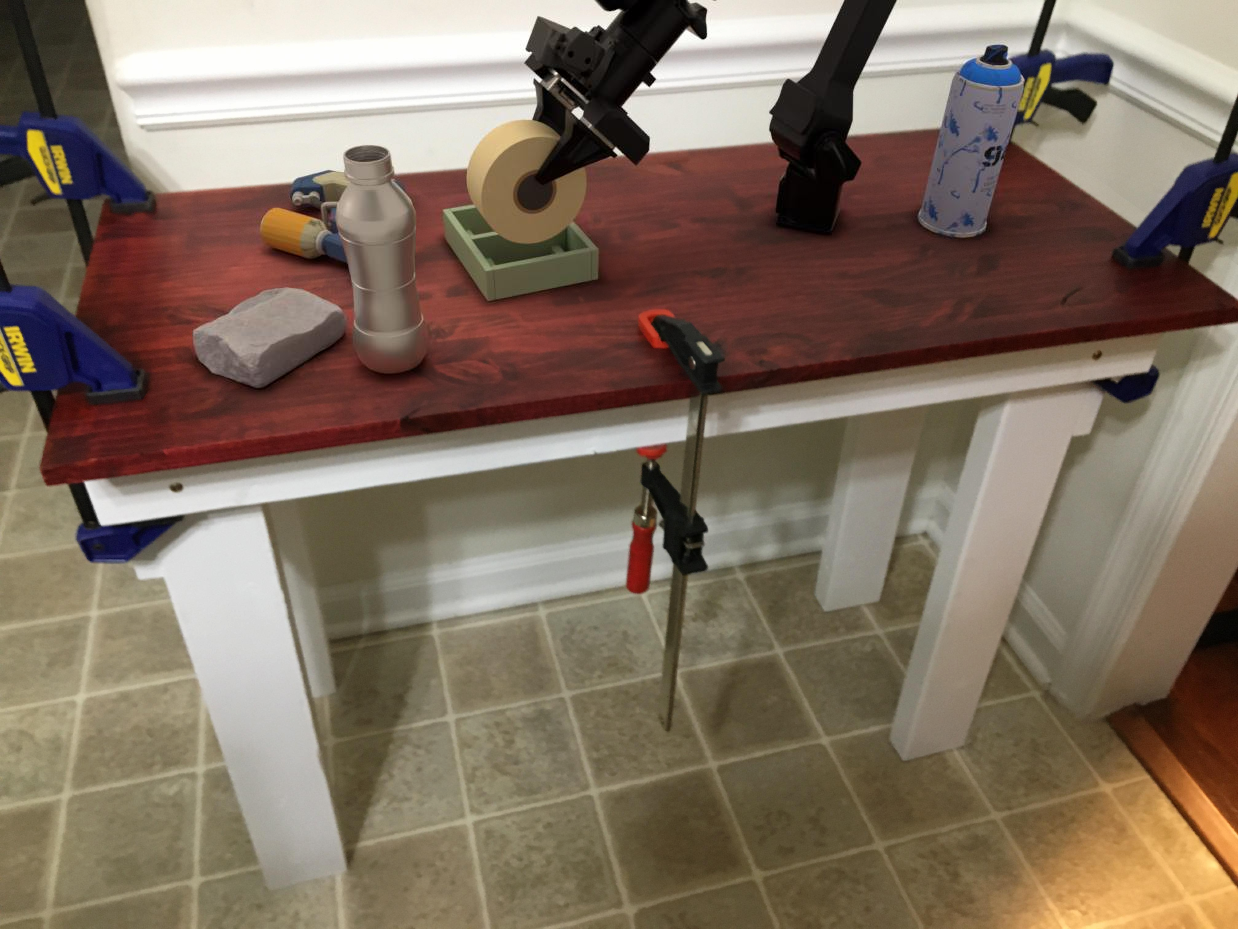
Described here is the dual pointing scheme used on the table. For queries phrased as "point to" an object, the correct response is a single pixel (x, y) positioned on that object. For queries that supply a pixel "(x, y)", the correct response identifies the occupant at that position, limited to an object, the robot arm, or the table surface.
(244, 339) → the stone block
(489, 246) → the green divided tray
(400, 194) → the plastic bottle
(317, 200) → the spray gun
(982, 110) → the aerosol can
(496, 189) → the masking tape roll
